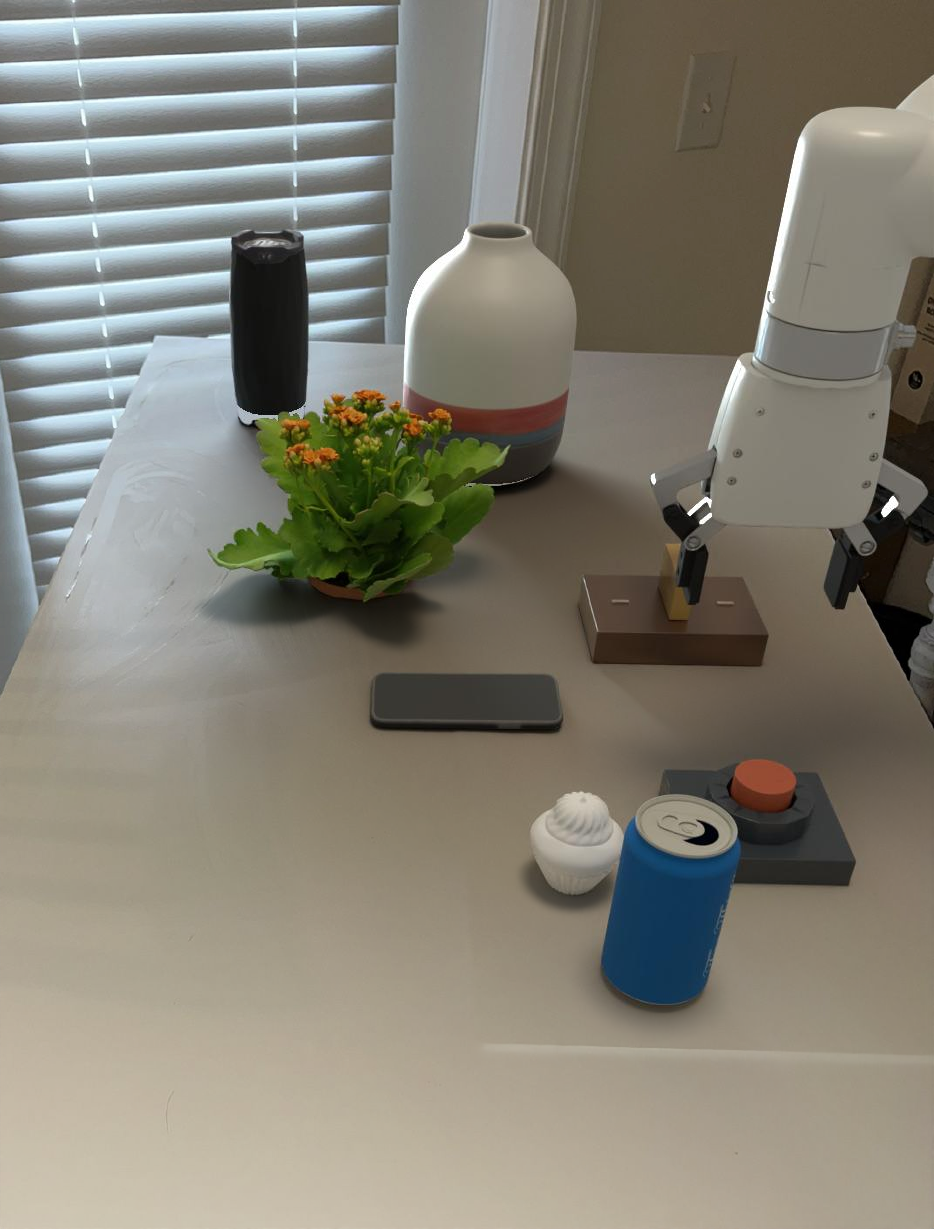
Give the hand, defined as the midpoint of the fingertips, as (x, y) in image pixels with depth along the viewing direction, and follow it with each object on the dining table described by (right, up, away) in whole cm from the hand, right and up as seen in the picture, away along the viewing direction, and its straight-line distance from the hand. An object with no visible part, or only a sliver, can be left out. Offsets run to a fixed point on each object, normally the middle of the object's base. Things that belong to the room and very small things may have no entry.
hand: (760, 597), depth 91 cm
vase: (-12, +23, +52) cm, 59 cm away
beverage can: (-10, -25, -8) cm, 28 cm away
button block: (0, -16, +3) cm, 17 cm away
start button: (0, -14, 0) cm, 14 cm away
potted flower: (-25, +8, +33) cm, 43 cm away
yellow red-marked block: (0, +4, +23) cm, 23 cm away
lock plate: (0, +1, +24) cm, 25 cm away
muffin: (-13, -19, -1) cm, 23 cm away
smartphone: (-18, -6, +16) cm, 25 cm away
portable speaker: (-35, +32, +63) cm, 79 cm away
